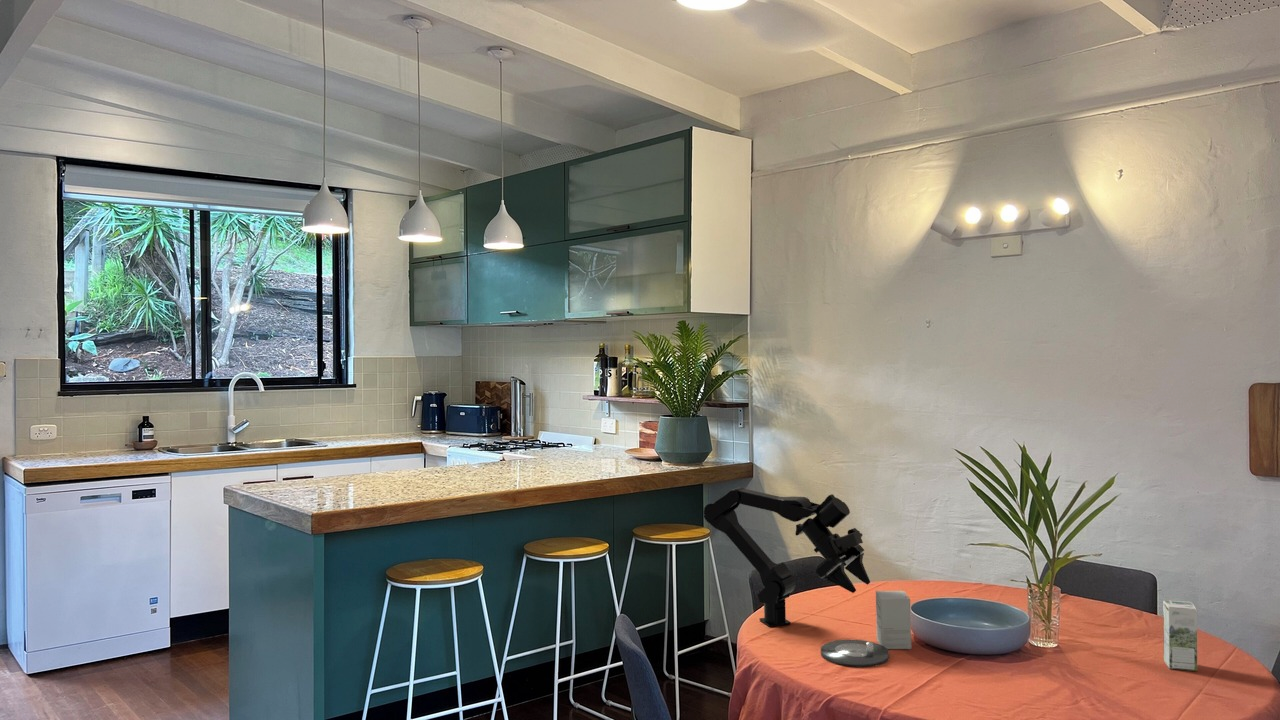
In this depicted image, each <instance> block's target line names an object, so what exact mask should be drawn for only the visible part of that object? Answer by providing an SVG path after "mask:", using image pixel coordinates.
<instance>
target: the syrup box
mask: <svg viewBox="0 0 1280 720" xmlns="http://www.w3.org/2000/svg"><path fill="white" fill-rule="evenodd" d="M1162 606H1163V609H1162V610H1163V611H1162V613H1163V615H1162V616H1163V620H1162V621H1163V627H1162V628H1163V661H1164V664H1166V666H1167V667H1168V668H1169V670H1178V671H1179V670H1180V671H1188V672H1189V671H1190V672H1192V671H1193V672H1197V671H1198V609H1197V608H1196V606H1195V604H1194V603H1193V602H1191V601H1183V600H1167V599H1164V600H1163V603H1162Z"/></svg>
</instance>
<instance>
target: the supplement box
mask: <svg viewBox="0 0 1280 720" xmlns="http://www.w3.org/2000/svg"><path fill="white" fill-rule="evenodd" d="M911 613H912V612H911V598H910V597H909V596H908V595H907V593H906V592H905V591H904V590H876V591H875V614H876V615H875V616H876V619H875V621H876V622H875V623H876V640H877V642H878V644H880V645H882V646H884V647H885V648H887V649H888V650H912V627H911V626H912V623H911V621H912V620H911V619H912V617H911V616H912V615H911Z"/></svg>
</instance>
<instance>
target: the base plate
mask: <svg viewBox="0 0 1280 720" xmlns="http://www.w3.org/2000/svg"><path fill="white" fill-rule="evenodd" d="M820 656H821V657H822V658H823V659H824V660H825V659H826V660H825V661H827V662H830V663H832V664H834V663H835V665H838V666H842V667H851V668H869V667H870V668H871V667H877V666H881V665H883V664H886V663H887V662H888V661H889V660H888V659H890V651H889V649H887V648H885V647H884V646H882V645H880V644H879V643H877V642H873V641H868V640H863V639H852V638H851V639H849V638H848V639H838V640H837V639H836V640H831V641H828V642H826V643H823V644H822V645H821V647H820ZM876 665H877V666H876Z"/></svg>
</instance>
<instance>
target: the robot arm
mask: <svg viewBox="0 0 1280 720" xmlns="http://www.w3.org/2000/svg"><path fill="white" fill-rule="evenodd" d="M740 505H743V506H748V507H752V508H757V509H762V510H765V511H769V512H773V513H776V514H777V515H779V516H780V517H781V518H784V519H785V520H788V521H791V522H794V523H796V522H800V521H803V520H804V519H805V520H804V522H802V523H798V524H796V525H795V529H796V530H795V534H794V535H795V536H799V535H801V534H804V535H805V536H806V538H807V539H808V540H809V541H810V543H811V544H812V545H813V546H814V547H815V548H814V549H813V551H814V552H815V553H816V554H817V553H820V555H821V556H822V557H823V559H824V560H822V561H821V563H819V564H818V565H817V566H816V567H815V574H816V575H817V577H818V578H820V579H823V580H825V581H826V580H827V581H828V582H830V583H833V584H835V585H837V586H839V587H841V588H843V589H845V590H847V591H848V592H850V593H852V594H855V593H856V592H857V588H856V587H855V585H854V584H853V582H852V581H851V579H850V578H849V576H848V574H847V573H846V571H848V572H849V573H850V574H851V575H853V576H854V577H855V578H857V579H859V581H860V582H863V584H865V585H870V583H871V580H870V578H869V576H868V573H867V571H866V568H865V566H864V563H863V558H864V556H865V553H864V552H865V549H864V548H863V546H862V545H861V544H863V543H864V541H863V540H862V537H863V533H862V532H860V531H859V530H858V529H857V528H856V527H854V528H851V529H848V530H847V534H846V535H843V536H840V535H839V534H838V533H833V532H832V531H831V530H830V528H833V529H834V528H836V526H838V525H839V524H840V523H842V521H844V520H845V518H847V517H848V516H849V515H850V513H851V511H850V508H849V506H848V505H847V504H846V502H845V501H842V500H841V499H840V498H838V497H836V496H835V495H834V494H833V493H831V494H830V495H829V494H828V495H827V496H826V497H825V499H824V500H823V501H822V502H821V503H816V502H813V501H810V499H809V498H808V497H805V496H779V495H778V496H777V495H775V494H769V493H766V492H765V493H764V492H760V491H754V490H751V489H746V488H744V487H741V486H740V487H736V488H733V489H730V490H729V492H727V493H726V494H725V495H723V496H722V497H721V498H719V499H717V500H716V501H715V502H711V503H707V504H706V505H705V506H704V508H703V518H704V520H705V521H706V523H708V524H709V525H710V526H711V527H712V528H714V529H715V530H717V531H719V532H721V533H723V534H725V535H726V536H727V538H728V539H729V540H730V541H731V542H732V543H733V544H734V546H735V547H736V548H737V549H738V551H740V553H741V554H742V555H743V556H744V557H745V559H746V560H747V561H748V562H749V563H750V564H751V566H752V567H753V568H754V569H755V570H756V571H757V573H758V574H759V578H760V581H761V584H762V586H763V589H762V590H761V591H760V592H758V594H757V598H758V600H759V603H763V614H764V616H763V617H761V618H759V621H760V622H761V623H763V624H764V625H766V626H768V627H770V628H771V627H780V626H785V625H791V624H792V621H790V620H788V619H787V617H786V614H787V613H786V599H787V598H790V596H791V593H792V592H793V591H794V590H795V588H796V578H795V576H794V575H793V574H794V572H793V571H792V570H790V569H789V568H788V567H787V565H786V564H785V562H781V563H775V562H773V560H772V559H771V558H770V557H769V556H768V555H767V553H765V552H764V550H763V549H762V548H761V547H760V546H759V544H758V543H757V542H756V541H755V540H754V539H753V538H752V536H751V535H750V534H749V533H748V532H747V531H746V530H745V528H743V525H741V524H740V523H739V520H738V519H739V518H738V516H737V513H736V509H738V507H740ZM814 515H815V516H814ZM811 516H814V517H813V518H812V517H811ZM829 527H830V528H829ZM845 570H846V571H845Z"/></svg>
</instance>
